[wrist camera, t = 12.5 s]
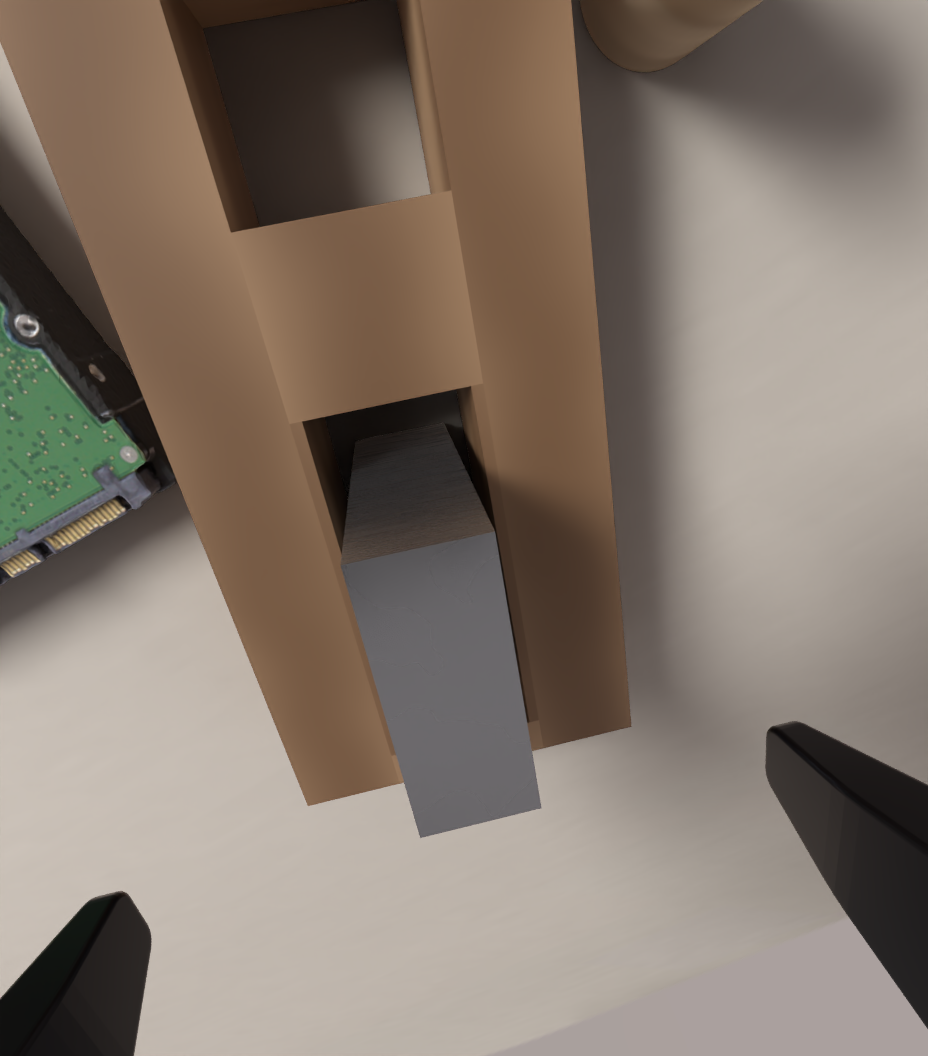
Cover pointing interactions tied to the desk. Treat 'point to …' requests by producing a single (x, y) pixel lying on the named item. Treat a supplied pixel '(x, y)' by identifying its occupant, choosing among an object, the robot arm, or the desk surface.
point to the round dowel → (657, 28)
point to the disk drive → (63, 419)
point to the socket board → (352, 337)
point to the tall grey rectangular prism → (437, 630)
